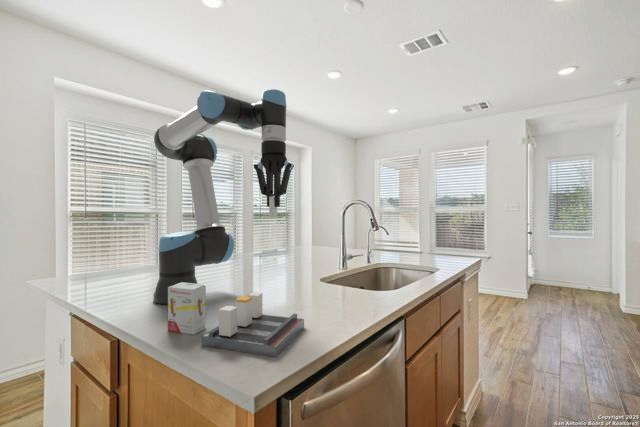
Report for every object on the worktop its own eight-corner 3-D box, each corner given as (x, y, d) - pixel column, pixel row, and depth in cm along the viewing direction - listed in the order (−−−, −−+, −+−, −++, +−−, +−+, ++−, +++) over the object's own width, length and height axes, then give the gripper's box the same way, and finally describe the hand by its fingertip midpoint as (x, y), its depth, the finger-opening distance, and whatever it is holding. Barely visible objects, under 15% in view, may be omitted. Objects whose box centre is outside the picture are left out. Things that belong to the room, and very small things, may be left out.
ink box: (166, 331, 83) (166, 286, 83) (180, 324, 87) (180, 281, 87) (193, 335, 80) (193, 288, 80) (206, 328, 85) (206, 284, 85)
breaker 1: (219, 335, 74) (219, 309, 74) (226, 330, 77) (226, 305, 77) (230, 336, 73) (230, 310, 73) (237, 331, 76) (237, 306, 76)
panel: (201, 345, 74) (201, 330, 74) (242, 319, 91) (242, 307, 91) (276, 357, 69) (276, 341, 69) (304, 327, 86) (304, 314, 86)
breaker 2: (235, 325, 80) (235, 299, 80) (241, 321, 83) (241, 296, 83) (246, 326, 79) (246, 300, 79) (251, 322, 82) (252, 297, 82)
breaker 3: (247, 316, 86) (247, 294, 86) (252, 313, 89) (252, 292, 89) (257, 318, 86) (257, 295, 85) (262, 314, 88) (262, 293, 88)
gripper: (248, 140, 97) (248, 217, 97) (288, 138, 93) (288, 218, 94) (260, 145, 104) (260, 216, 105) (297, 143, 100) (297, 217, 101)
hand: (273, 217), depth 99 cm, fingers closed
